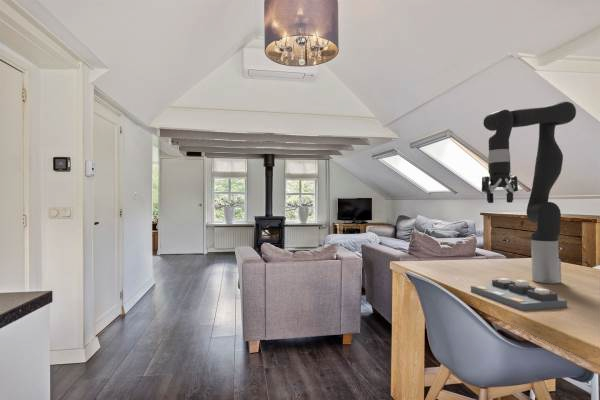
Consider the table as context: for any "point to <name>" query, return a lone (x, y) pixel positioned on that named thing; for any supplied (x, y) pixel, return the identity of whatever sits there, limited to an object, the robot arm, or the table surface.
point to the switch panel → (519, 296)
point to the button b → (522, 283)
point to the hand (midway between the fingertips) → (500, 202)
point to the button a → (504, 280)
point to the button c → (542, 291)
